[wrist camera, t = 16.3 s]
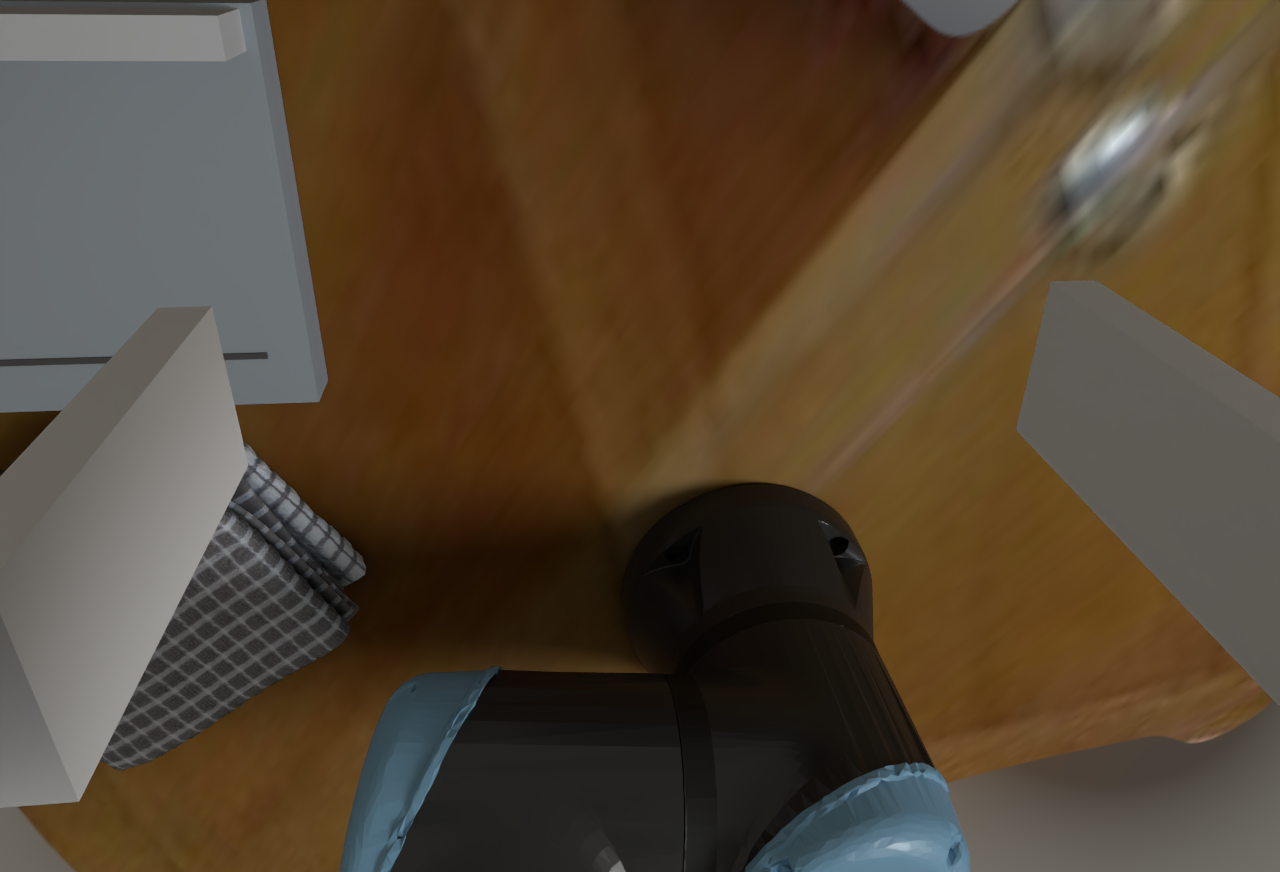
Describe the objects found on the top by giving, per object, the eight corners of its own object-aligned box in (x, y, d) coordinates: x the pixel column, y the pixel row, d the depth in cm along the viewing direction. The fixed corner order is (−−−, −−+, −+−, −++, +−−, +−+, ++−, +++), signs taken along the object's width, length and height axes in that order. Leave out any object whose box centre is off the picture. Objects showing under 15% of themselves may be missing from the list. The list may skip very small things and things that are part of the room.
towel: (-59, 540, 51) (-150, 637, 44) (199, 371, 48) (144, 447, 41) (151, 703, 58) (101, 807, 51) (388, 564, 55) (368, 656, 48)
